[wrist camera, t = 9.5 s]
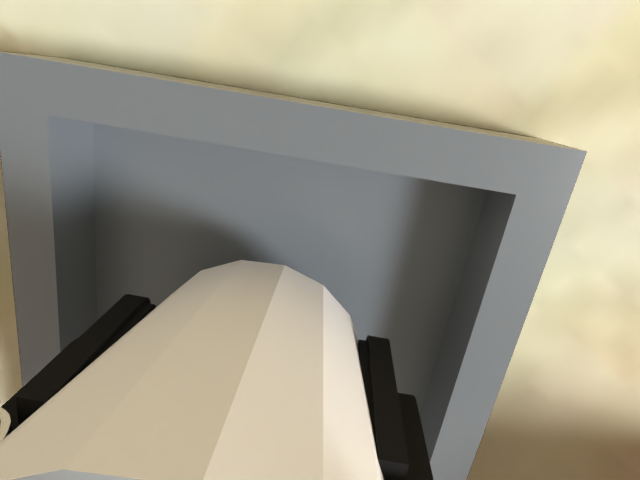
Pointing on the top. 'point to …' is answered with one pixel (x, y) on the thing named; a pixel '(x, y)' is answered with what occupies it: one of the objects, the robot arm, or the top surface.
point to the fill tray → (280, 219)
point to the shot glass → (213, 391)
